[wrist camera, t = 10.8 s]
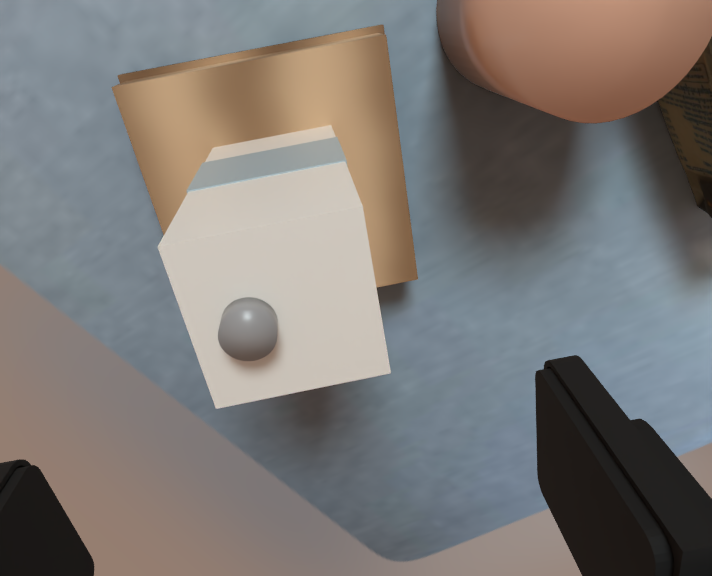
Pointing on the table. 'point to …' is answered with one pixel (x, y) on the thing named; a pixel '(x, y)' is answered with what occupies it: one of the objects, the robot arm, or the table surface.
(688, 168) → the beverage carton
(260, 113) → the plinth
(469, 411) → the table surface
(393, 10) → the table surface
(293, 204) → the slim carton
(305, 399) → the table surface
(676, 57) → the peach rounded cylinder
